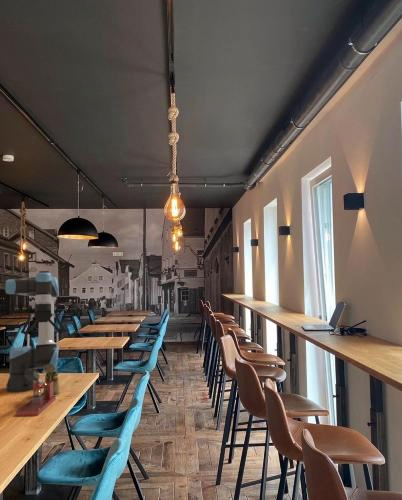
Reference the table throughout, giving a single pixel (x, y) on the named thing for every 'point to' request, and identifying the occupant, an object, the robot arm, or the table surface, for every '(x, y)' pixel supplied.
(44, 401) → the nutcracker base
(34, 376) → the nutcracker lever
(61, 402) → the table surface
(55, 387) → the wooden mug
